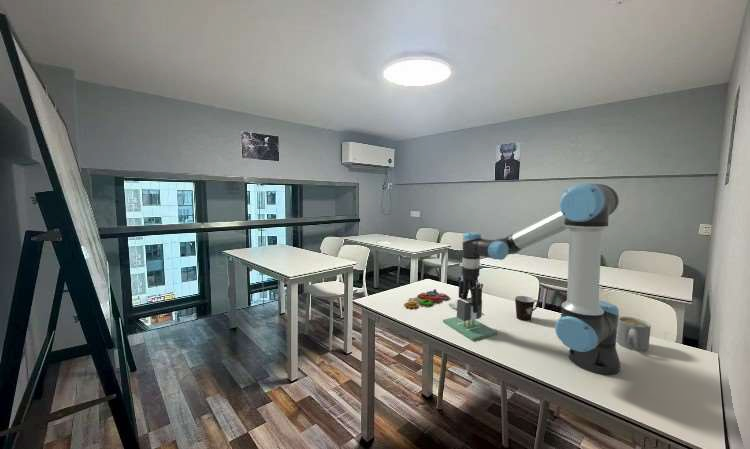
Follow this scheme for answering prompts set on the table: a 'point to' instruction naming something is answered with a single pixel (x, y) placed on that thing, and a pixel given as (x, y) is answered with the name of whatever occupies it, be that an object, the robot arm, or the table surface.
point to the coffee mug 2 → (633, 333)
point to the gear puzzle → (426, 299)
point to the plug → (466, 309)
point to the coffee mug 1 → (524, 307)
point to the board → (470, 328)
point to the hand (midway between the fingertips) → (469, 316)
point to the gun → (453, 305)
